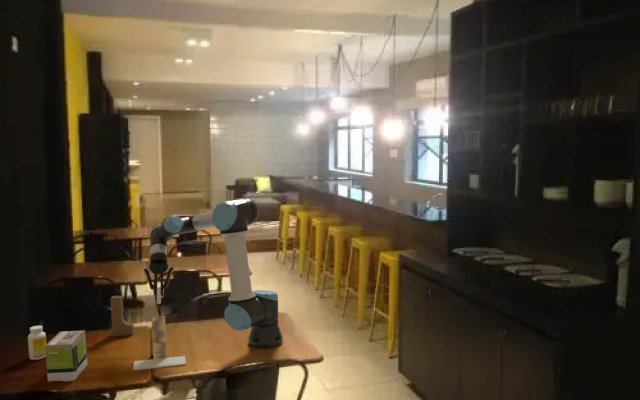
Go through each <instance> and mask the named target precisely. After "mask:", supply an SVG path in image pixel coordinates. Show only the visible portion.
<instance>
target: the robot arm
mask: <svg viewBox="0 0 640 400" xmlns="http://www.w3.org/2000/svg"><path fill="white" fill-rule="evenodd" d="M259 216H260V209H259V205H258V204H257V203H256V202H255V201H254V200H252V199H250V198H241V199H232V200H225V201H222V202H220V203H218V204H216V206H215V207H214V208H213V210H211V211H207V212H203V213H199V214H194V215H189V216H184V217H180V216H177V215H170V216H169V217H168V218H166V219H165V220H164V221H163V222H162V223H161V224H157V225H155V226H152V227H151V228H150V233H149V247H150V248H149V266H148V267H147V268H144V269H143V273H144V274H145V276H146V278H147V282H148V286H149V289H150V290H153V291H154V292H153V294H154V295H153V296H154V297H156V303H157V304H158V305H159V304H162V297H163V296H164V290H165V289H168V287H169V284H170V279H171V276H172V274H173V273H174V267H173V266H169V263H168V242H169V241H170V240H171V239H172V238H173V237H174V236H177V235H178V236H179V235H182V234H183V235H184V234H187V233H194V232H199V231H202V230H207V229H211V228H212V229H213V228H216V229H217V230H218V231H219V233H220V236H221V237H223V238H224V245H225V253H226V261H227V269H228V276H229V277H228V279H229V285H230V292H231V293H230V294H231V295H230V296H229V297H228V300H227V301H228V306H227V307H226V308H225V310H224V319H225V322H226V323H227V325H228V326H229V327H230V328H231V329H232V330H235V331H237V332H239V331H244V330H248V329H250V331H249V335H248V340H247V341H248V342H247V343H248V345H249V346H251V347H253V348H259V349H268V348H275V347H278V346H279V345H281V344H282V343H283V334H282V331H281V328H280V326H279V297H278V296H279V295H278V293H277V292H276V291H273V290H267V289H266V290H265V289H264V290H263V289H257V290H253V289H252V281H251V274H250V265H249V257H248V249H247V241H246V234H247V233H248V231H249V229H248V227H249V226H251V225H252V224H255V222H256V221H257V220H258V218H259ZM150 272H151V273H152V274H153V278H154V279H153V281H154V283H153V281H152V278H151V275H150ZM166 272H167V273H166ZM165 273H166V274H167V275H166V278H165V283H164V274H165ZM159 275H160V276H159ZM158 276H159V277H160V279H159V282H160V286H159V287H158Z"/></svg>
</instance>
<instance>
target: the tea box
mask: <svg viewBox="0 0 640 400" xmlns="http://www.w3.org/2000/svg"><path fill="white" fill-rule="evenodd" d="M45 352H46V357H45V361H46V373H47V374H46V376H47V382H48V383H50V382H49V381H63V382H74V381H75V380H76V379H77V378H78V377H79V375H80V374H81V373H82V372H83V371H84V370H85V368H86V367H87V366H88V364H89V363H88V354H87V342H86V330H85V329H84V330H70V331H68V330H67V331H59V332H58V333H57V334H56V335H55V336H53V338H51V339H50V340H49V341H48V343H47V342H46V345H45Z"/></svg>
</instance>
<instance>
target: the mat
mask: <svg viewBox="0 0 640 400" xmlns="http://www.w3.org/2000/svg"><path fill="white" fill-rule="evenodd" d="M186 363H187V362H186V356H185V355H183V356H172V357H166V358H161V359H154V358H153V359H144V360H134V361H133V367H132V371H142V370H151V369H161V368H169V367H178V366H186V365H187V364H186Z"/></svg>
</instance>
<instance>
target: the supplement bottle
mask: <svg viewBox="0 0 640 400" xmlns="http://www.w3.org/2000/svg"><path fill="white" fill-rule="evenodd" d="M43 329H44V328H43V325H33V326H31V327H29V332H30V333H29V334H28V336H27V342H28V357H29V360H33V361H38V360H42V359H44V358H45V359H46V352H45V345H47V335H46V334H47V333H46V332H44V331H43Z"/></svg>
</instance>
